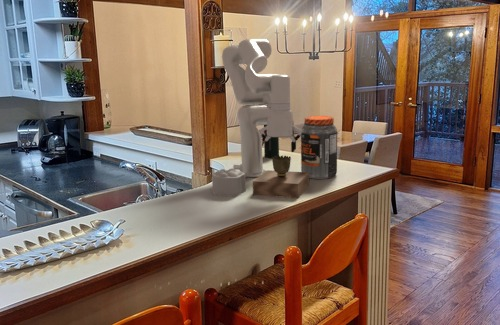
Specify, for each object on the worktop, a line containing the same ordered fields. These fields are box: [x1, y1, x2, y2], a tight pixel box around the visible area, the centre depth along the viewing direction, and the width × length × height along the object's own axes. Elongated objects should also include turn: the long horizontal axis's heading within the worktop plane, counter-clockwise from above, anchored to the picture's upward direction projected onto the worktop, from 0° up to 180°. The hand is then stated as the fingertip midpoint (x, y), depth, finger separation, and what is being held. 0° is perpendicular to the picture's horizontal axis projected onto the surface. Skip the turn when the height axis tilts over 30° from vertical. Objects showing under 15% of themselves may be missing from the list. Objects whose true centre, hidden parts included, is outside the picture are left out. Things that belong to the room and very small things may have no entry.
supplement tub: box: [300, 115, 338, 180], centre depth 201 cm, size 16×16×26 cm
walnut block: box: [252, 170, 310, 199], centre depth 182 cm, size 18×18×6 cm
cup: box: [271, 154, 292, 177], centre depth 181 cm, size 8×7×8 cm
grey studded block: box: [211, 168, 247, 197], centre depth 182 cm, size 10×13×9 cm
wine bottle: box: [262, 125, 280, 159], centre depth 243 cm, size 8×10×30 cm
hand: (281, 151), depth 180 cm, fingers open, 9 cm apart
